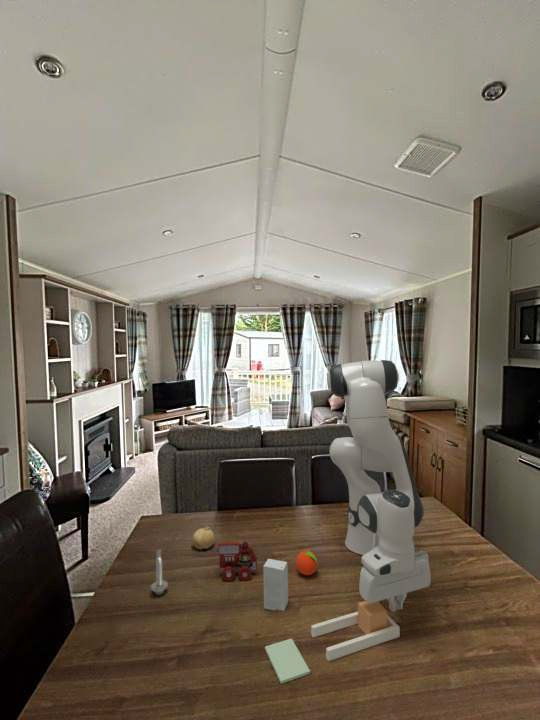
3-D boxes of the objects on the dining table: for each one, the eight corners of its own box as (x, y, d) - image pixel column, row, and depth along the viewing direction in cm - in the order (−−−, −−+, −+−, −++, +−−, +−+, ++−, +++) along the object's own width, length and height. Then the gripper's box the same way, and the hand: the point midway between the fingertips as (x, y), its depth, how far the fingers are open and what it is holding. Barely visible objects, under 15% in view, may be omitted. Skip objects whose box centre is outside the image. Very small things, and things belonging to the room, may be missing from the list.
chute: (378, 616, 100) (378, 605, 100) (399, 639, 92) (399, 627, 92) (311, 637, 93) (311, 625, 93) (328, 664, 85) (328, 651, 85)
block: (374, 620, 98) (374, 598, 97) (386, 634, 93) (386, 610, 93) (358, 625, 96) (358, 602, 96) (369, 639, 91) (369, 615, 91)
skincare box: (288, 603, 105) (288, 561, 105) (284, 613, 101) (283, 570, 101) (268, 598, 107) (267, 557, 107) (263, 608, 103) (262, 566, 103)
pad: (302, 637, 93) (302, 634, 93) (322, 669, 84) (322, 666, 84) (264, 649, 89) (264, 646, 89) (280, 683, 80) (280, 681, 80)
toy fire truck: (257, 580, 116) (256, 547, 116) (217, 582, 115) (216, 549, 115) (257, 567, 123) (256, 536, 123) (219, 569, 122) (218, 537, 122)
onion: (207, 554, 131) (207, 534, 131) (188, 550, 134) (187, 530, 134) (218, 543, 139) (218, 524, 139) (199, 539, 141) (199, 521, 141)
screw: (148, 592, 111) (162, 585, 114) (155, 600, 107) (171, 592, 111) (147, 549, 110) (162, 543, 114) (155, 555, 107) (170, 549, 110)
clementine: (324, 574, 119) (324, 552, 119) (311, 584, 114) (311, 561, 114) (304, 564, 124) (304, 543, 124) (291, 573, 119) (291, 551, 119)
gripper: (419, 543, 103) (418, 592, 103) (355, 558, 96) (355, 610, 96) (436, 554, 97) (436, 606, 98) (370, 571, 90) (370, 627, 90)
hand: (395, 609), depth 97 cm, fingers closed
